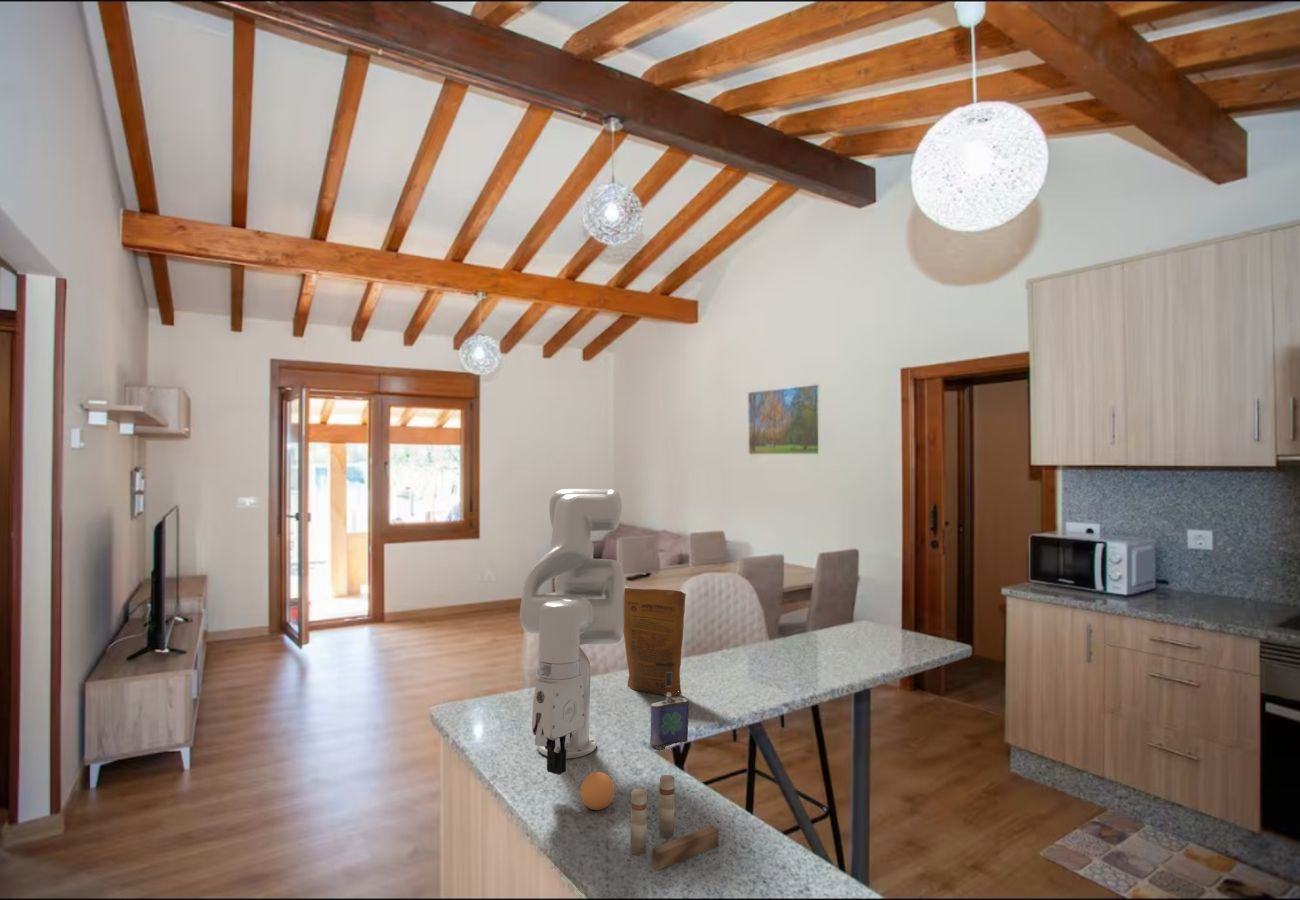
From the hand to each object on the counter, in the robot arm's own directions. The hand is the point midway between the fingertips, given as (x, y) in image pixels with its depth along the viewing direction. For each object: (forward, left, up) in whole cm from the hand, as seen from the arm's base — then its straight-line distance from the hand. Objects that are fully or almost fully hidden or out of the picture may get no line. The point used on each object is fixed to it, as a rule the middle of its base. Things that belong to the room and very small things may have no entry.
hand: (556, 771), depth 122 cm
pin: (+21, +9, -4) cm, 24 cm away
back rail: (+28, +8, -4) cm, 30 cm away
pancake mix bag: (-38, +49, -5) cm, 62 cm away
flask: (-8, +32, -5) cm, 33 cm away
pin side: (+23, +3, -4) cm, 24 cm away
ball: (+8, +4, -1) cm, 9 cm away
